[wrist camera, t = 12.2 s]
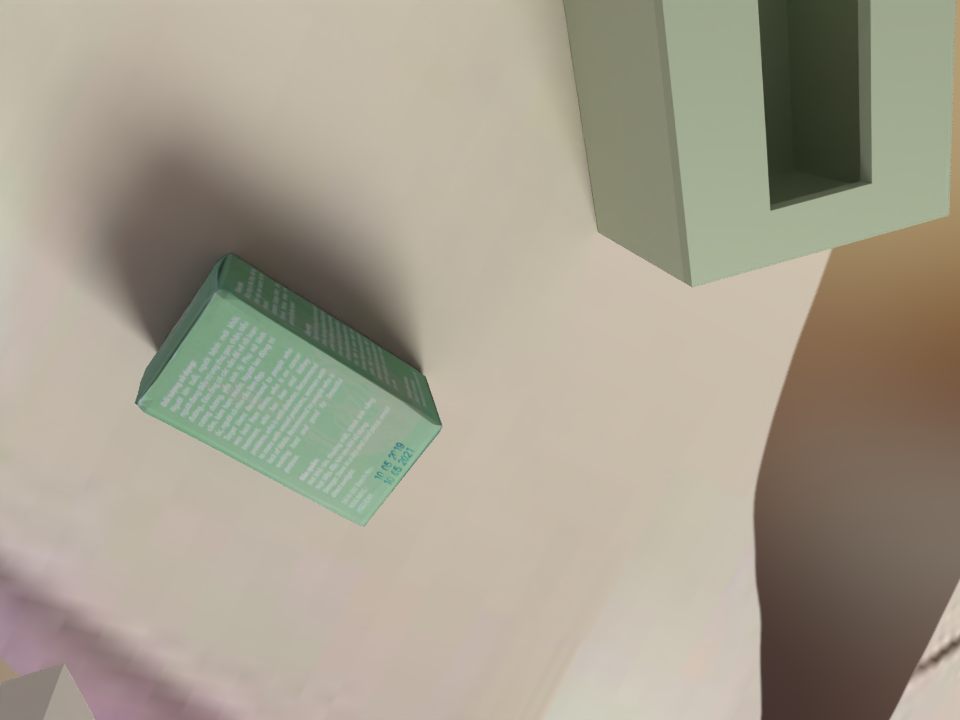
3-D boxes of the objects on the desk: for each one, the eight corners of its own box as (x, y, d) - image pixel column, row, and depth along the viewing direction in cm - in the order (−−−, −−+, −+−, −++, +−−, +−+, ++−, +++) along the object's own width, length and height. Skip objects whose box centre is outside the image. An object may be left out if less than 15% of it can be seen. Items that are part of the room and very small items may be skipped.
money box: (549, -94, 40) (646, -150, 29) (785, -144, 41) (962, -215, 30) (598, 232, 46) (692, 287, 35) (799, 178, 48) (949, 215, 37)
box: (224, 244, 42) (210, 283, 35) (426, 371, 47) (449, 426, 41) (151, 353, 43) (125, 410, 37) (356, 465, 49) (367, 533, 42)
